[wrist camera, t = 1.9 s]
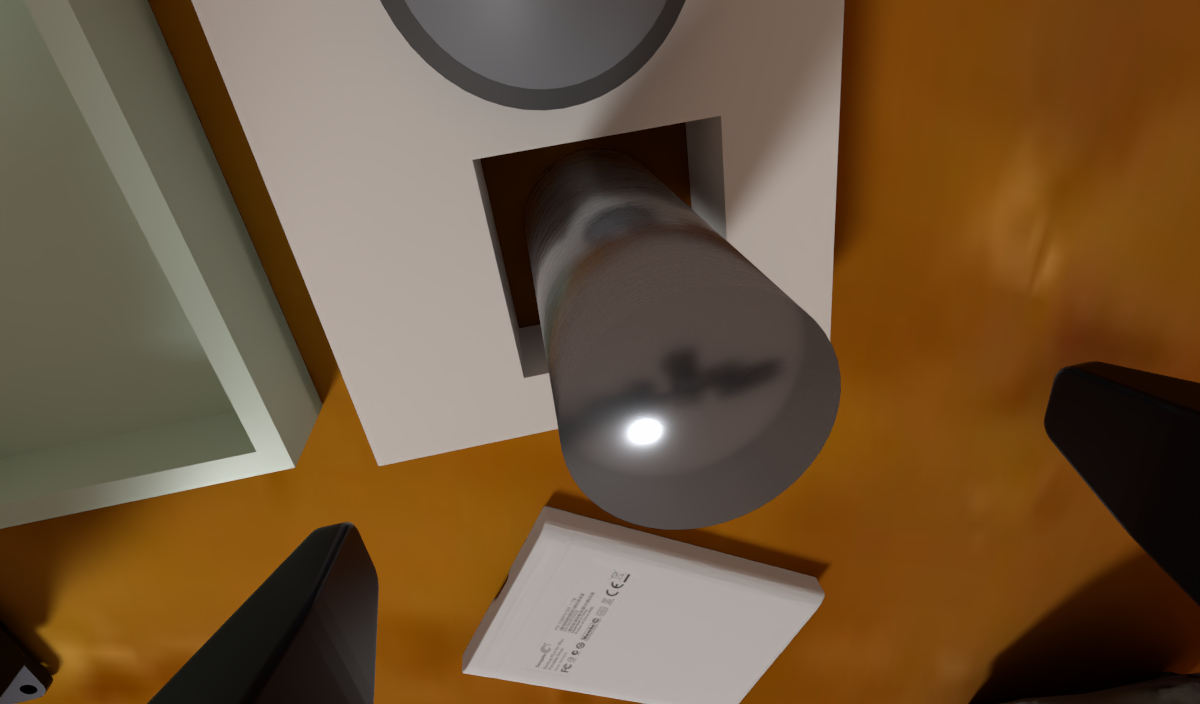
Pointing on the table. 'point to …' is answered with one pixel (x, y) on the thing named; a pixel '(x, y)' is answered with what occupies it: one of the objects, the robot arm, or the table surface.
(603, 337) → the pin
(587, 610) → the external hard drive
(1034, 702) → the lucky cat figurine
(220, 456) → the tray
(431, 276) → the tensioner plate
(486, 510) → the table surface
